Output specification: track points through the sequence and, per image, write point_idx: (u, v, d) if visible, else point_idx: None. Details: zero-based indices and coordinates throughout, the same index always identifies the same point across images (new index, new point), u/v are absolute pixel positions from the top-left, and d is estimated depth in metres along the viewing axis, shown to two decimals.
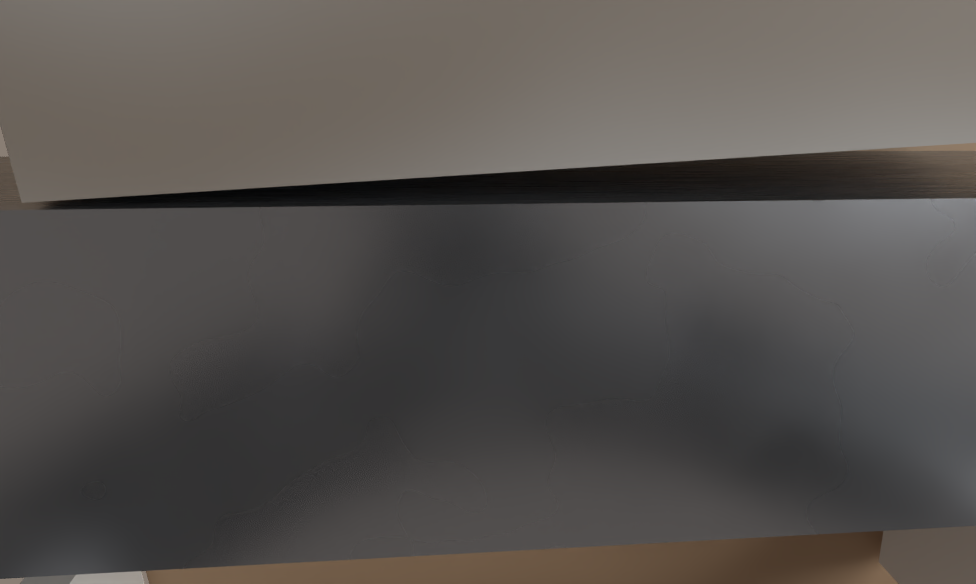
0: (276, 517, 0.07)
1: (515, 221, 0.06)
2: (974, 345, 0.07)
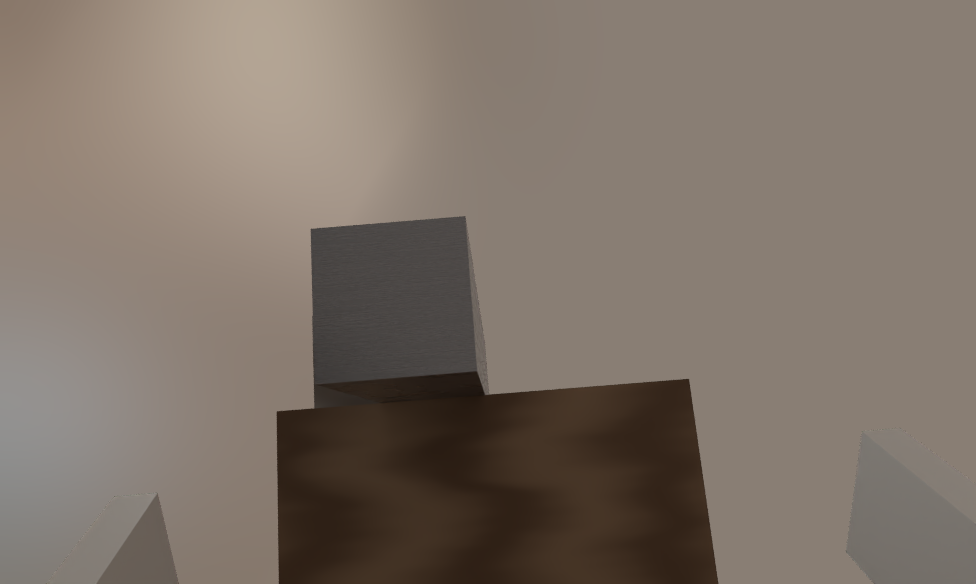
0: None
1: None
2: None
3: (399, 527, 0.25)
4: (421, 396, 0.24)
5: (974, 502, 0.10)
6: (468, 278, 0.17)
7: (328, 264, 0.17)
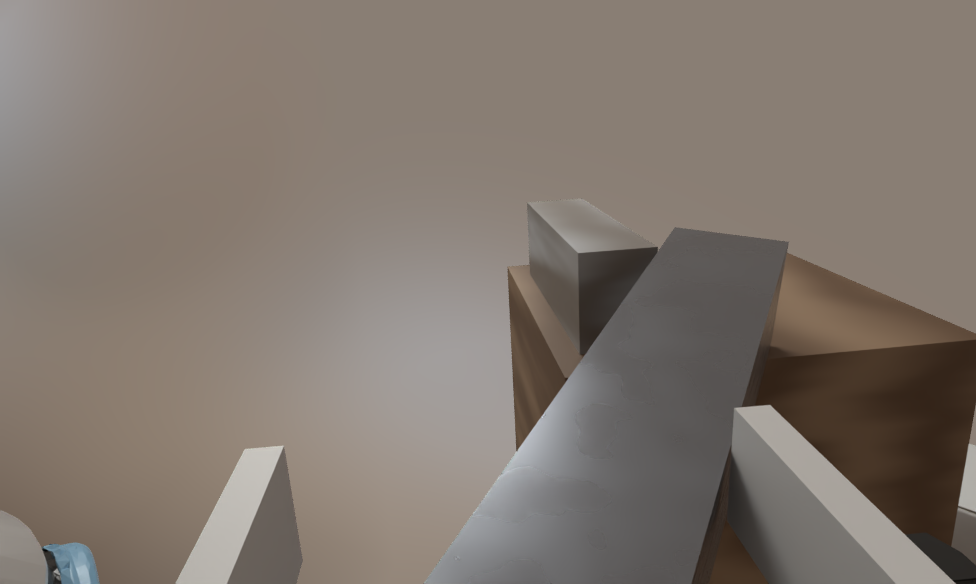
0: (714, 398, 0.16)
1: (614, 323, 0.19)
2: (703, 264, 0.22)
3: None
4: None
5: (811, 467, 0.11)
6: None
7: None
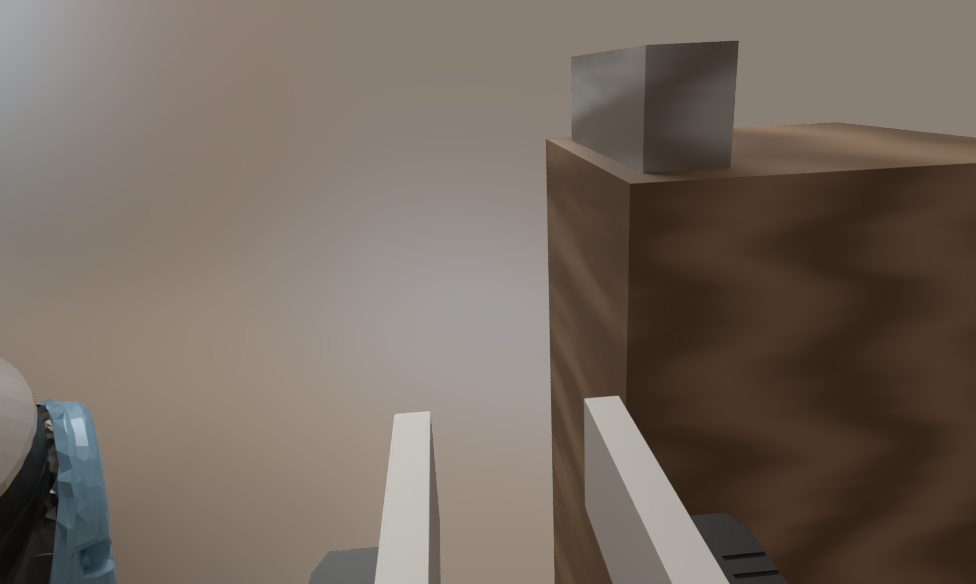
0: None
1: None
2: None
3: (759, 315, 0.22)
4: None
5: (630, 453, 0.12)
6: None
7: None
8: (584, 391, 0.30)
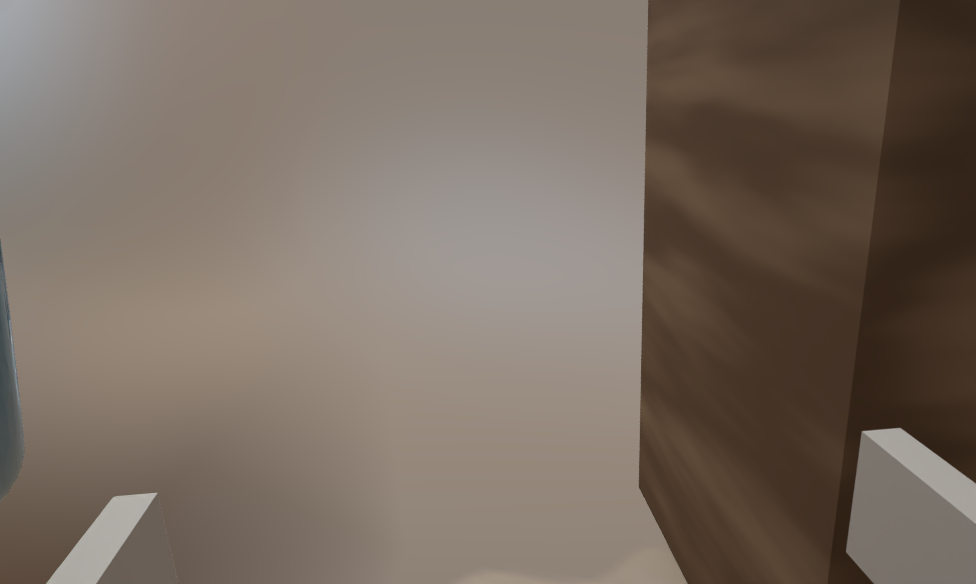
0: None
1: None
2: None
3: None
4: None
5: (974, 502, 0.10)
6: None
7: None
8: (743, 91, 0.20)
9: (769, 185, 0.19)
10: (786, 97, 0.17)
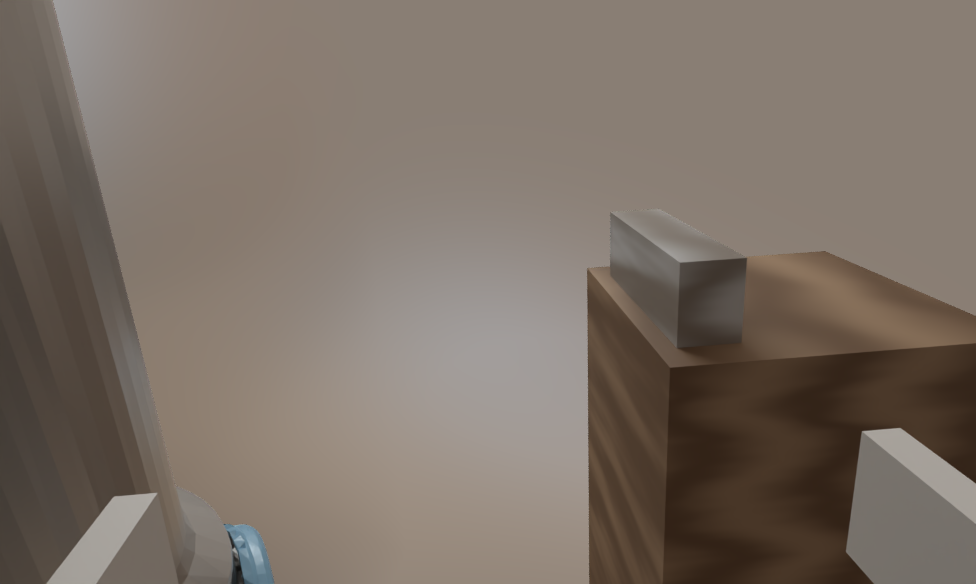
0: None
1: None
2: None
3: (763, 453, 0.30)
4: None
5: (974, 502, 0.10)
6: None
7: None
8: (625, 486, 0.38)
9: (634, 547, 0.36)
10: (638, 516, 0.35)
